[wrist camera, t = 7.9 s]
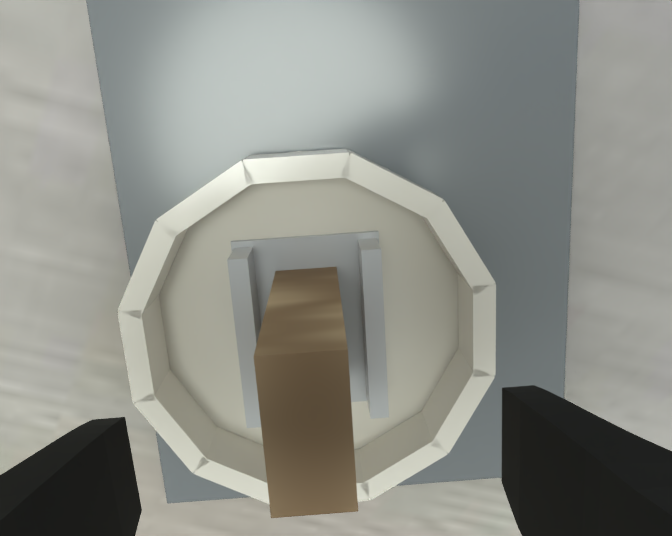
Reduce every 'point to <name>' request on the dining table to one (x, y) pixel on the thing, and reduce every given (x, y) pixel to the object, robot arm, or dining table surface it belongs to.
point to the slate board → (366, 142)
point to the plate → (357, 305)
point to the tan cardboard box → (306, 396)
